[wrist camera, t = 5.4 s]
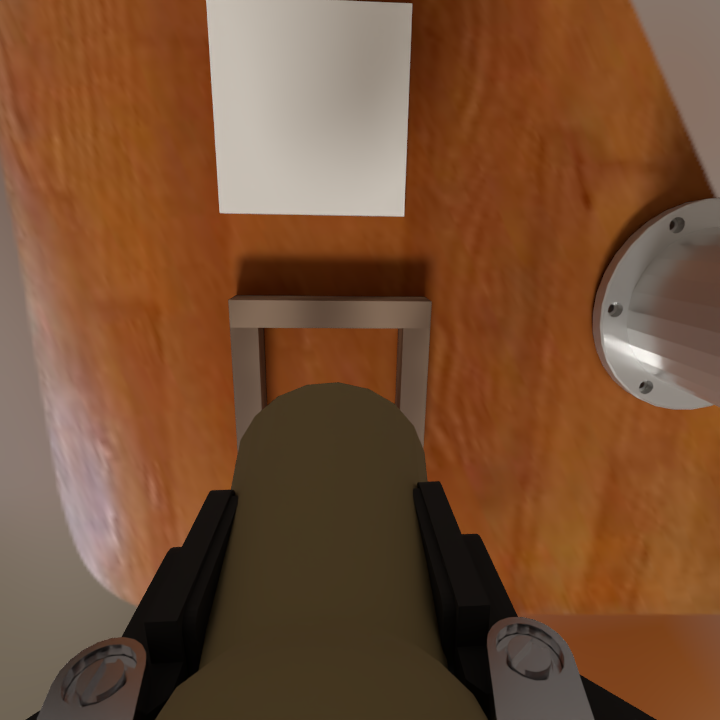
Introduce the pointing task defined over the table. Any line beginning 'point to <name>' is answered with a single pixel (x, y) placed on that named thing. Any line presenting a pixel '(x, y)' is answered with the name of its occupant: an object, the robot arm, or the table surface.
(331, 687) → the cork
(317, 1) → the coaster
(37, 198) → the table surface
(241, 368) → the holder
